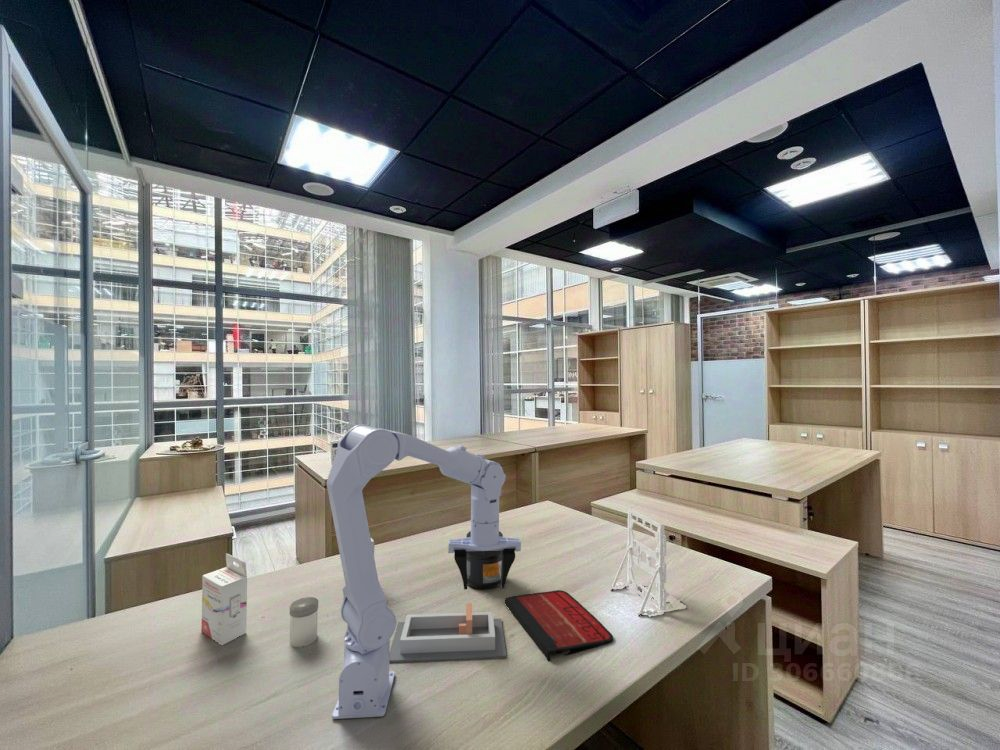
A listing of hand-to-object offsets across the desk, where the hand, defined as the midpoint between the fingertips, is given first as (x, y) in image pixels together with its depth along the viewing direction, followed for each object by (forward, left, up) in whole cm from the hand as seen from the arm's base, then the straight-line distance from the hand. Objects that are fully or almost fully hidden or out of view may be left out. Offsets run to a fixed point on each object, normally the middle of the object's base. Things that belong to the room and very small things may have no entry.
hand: (484, 586), depth 83 cm
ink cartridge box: (+5, +53, -11) cm, 54 cm away
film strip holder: (+13, -40, -11) cm, 43 cm away
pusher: (0, +4, -10) cm, 11 cm away
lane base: (0, +7, -10) cm, 13 cm away
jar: (+2, +36, -10) cm, 38 cm away
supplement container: (+24, -1, -11) cm, 26 cm away
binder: (+5, -16, -11) cm, 20 cm away
